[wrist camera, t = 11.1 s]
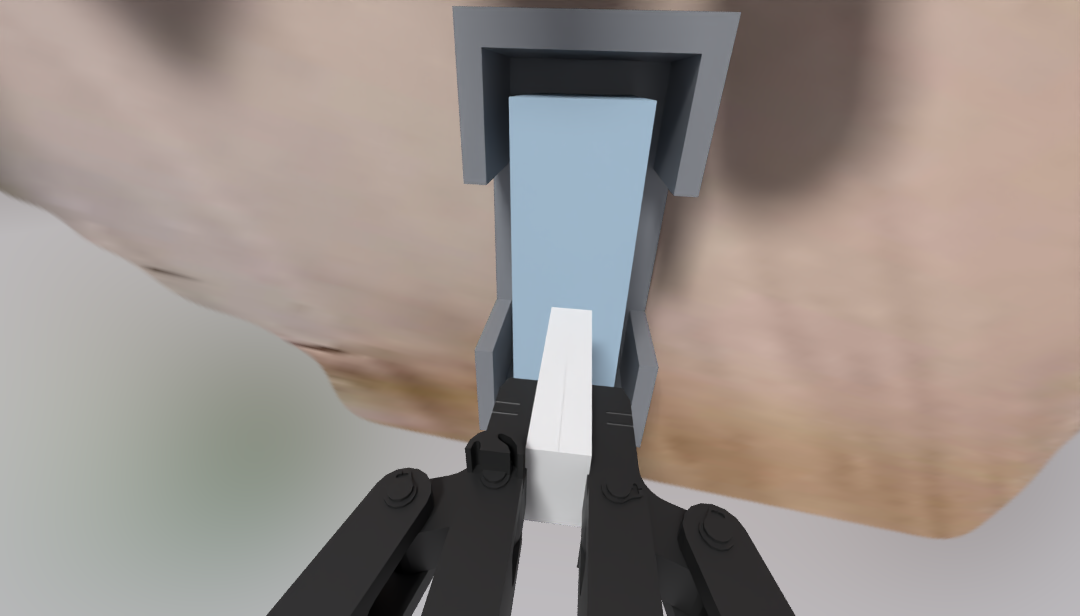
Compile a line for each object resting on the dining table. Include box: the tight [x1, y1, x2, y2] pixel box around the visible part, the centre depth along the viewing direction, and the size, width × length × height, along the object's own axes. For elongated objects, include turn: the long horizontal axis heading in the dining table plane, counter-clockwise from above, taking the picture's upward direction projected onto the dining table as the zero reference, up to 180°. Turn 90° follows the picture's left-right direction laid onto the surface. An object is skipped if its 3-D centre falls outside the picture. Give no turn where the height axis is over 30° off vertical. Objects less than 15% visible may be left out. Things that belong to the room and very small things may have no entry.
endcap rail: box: [452, 6, 741, 447], centre depth 22 cm, size 10×21×7 cm, turn 178°
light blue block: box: [509, 93, 657, 387], centre depth 21 cm, size 5×16×8 cm, turn 179°
